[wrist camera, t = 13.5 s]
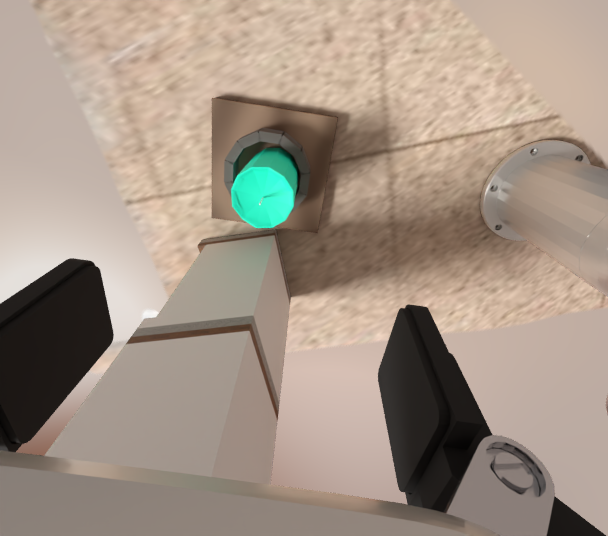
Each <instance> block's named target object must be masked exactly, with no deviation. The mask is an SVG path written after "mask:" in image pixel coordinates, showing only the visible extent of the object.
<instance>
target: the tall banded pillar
mask: <svg viewBox="0 0 608 536" xmlns="http://www.w3.org/2000/svg"><path fill="white" fill-rule="evenodd" d="M198 248H199V251H200V254H199V256H198V257H197V259H196V260H195V261H194V263H193V264H192V266H191V267H190V269H189V270H188V272H187V273H186V275H185V276H184V278H183V279H182V280H181V282H180V283H179V285H178V286H177V288H176V289H175V291H174V292H173V294H172V295H171V297H170V298H169V299H168V301H167V302H166V304H165V306H164V307H163V308H162V310H161V311H160V313H159V314H158V316H157V317H156V318H147V319H144V320H143V321H142V323H141V324H140V326H139V327H138V328H137V330H136V331H135V332H134V334H133V335H132V336H131V338H130V339H129V341H128V342H127V343H126V345H125V346H124V347H123V349H122V350H121V352H120V353H119V354H118V356H117V357H116V358H115V360H114V361H113V362H112V364H111V365H110V367H109V368H108V369H107V371H106V372H105V373H104V375H103V376H102V378H101V379H100V380H99V382H98V383H97V384H96V386H95V387H94V388H93V390H92V391H91V393H90V394H89V395H88V397H87V398H86V400H85V401H84V402H83V404H82V405H81V406H80V408H79V409H78V410H77V412H76V413H75V414H74V416H73V417H72V419H71V420H70V421H69V423H68V424H67V425H66V427H65V428H64V430H63V431H62V432H61V434H60V435H59V436H58V438H57V439H56V441H55V442H54V443H53V445H52V446H51V447H50V449H49V450H48V451H47V453H46V454H45V456H49V457H57V458H66V459H74V460H82V461H90V462H98V463H106V464H114V465H122V466H130V467H138V468H146V469H153V470H161V471H169V472H177V473H185V474H193V475H200V476H208V477H216V478H224V479H231V480H239V481H246V482H254V483H261V484H269V485H271V476H272V466H273V458H274V448H275V439H276V429H277V420H278V411H279V402H280V393H281V383H282V374H283V365H284V355H285V346H286V337H287V327H288V318H289V309H290V300H291V296H290V292H289V287H288V282H287V278H286V273H285V268H284V264H283V259H282V255H281V250H280V245H279V241H278V236H277V231H276V229H275V230H268V231H261V232H254V233H247V234H239V235H232V236H225V237H218V238H211V239H204V240H202V241H201V242H200V243H199V245H198Z"/></svg>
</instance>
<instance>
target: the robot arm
mask: <svg viewBox="0 0 608 536" xmlns="http://www.w3.org/2000/svg"><path fill="white" fill-rule="evenodd" d="M530 151H531V152H530ZM491 186H492V187H491ZM480 209H481V215H482V217H483V220H484V222H485V223H486V225H487V226H488V228H490V229H491V230H492V231H493V232H494V233H496V234H497V235H499V236H500V237H503V238H505V239H508V240H514V241H529V242H530V243H532V244H533V245H534V246H536V247H537V248H539V249H540V250H542V251H543V252H544V253H546V254H547V255H549V256H550V257H551V258H553V259H554V260H556V261H557V262H558V263H560V264H561V265H563V266H564V267H565V268H567V269H568V270H570V271H571V272H572V273H574V274H575V275H577V276H578V277H579V278H581V279H582V280H584V281H585V282H586V283H588V284H589V285H591V286H592V287H594V288H595V289H597V290H598V291H599V292H601V293H603V294H604V295H606V296H608V169H604V168H601V167H597V166H594V165H591V162H590V160H589V159H588V157H587V155H586V154H585V153H584V152H583V150H582V149H581V148H579V147H577V146H576V145H574V144H572V143H568V142H565V141H559V140H541V141H537V142H533V143H530V144H528V145H525V146H523V147H521V148H519V149H517V150H516V151H514V152H512V153H511V154H510V155H508V156H507V157H506V158H505V159H503V160H502V161H501V162H500V163H499V164H498V165H497V167H496V168H495V169H494V170H493V171H492V173H491V174H490V176H489V177H488V179H487V181H486V183H485V185H484V187H483V191H482V195H481V201H480ZM112 340H113V329H112V324H111V319H110V315H109V310H108V305H107V300H106V296H105V291H104V286H103V282H102V277H101V273H100V269H99V268H98V267H96V266H95V264H94V263H93V262H92V261H88V260H80V259H68V260H66V261H64V262H63V263H61V264H60V265H58V266H57V267H55V268H54V269H52V270H51V271H49V272H48V273H46V274H45V275H43V276H42V277H40V278H39V279H37V280H36V281H34V282H33V283H31V284H30V285H28V286H27V287H25V288H24V289H22V290H20V291H19V292H18V293H16V294H15V295H13V296H11V297H10V298H9V299H7V300H5V301H4V302H2V303H1V304H0V536H606V535H604V534H603V533H602V532H601V531H599V530H598V529H597V528H595V527H594V526H593V525H591V524H590V523H589V522H587V521H586V520H585V519H584V518H582V517H581V516H580V515H578V514H577V513H576V512H574V511H573V510H572V509H571V508H569V507H568V506H567V505H565V504H564V503H563V502H561V501H560V500H559V499H558V498H556V497H555V493H554V484H553V481H552V479H551V476H550V474H549V472H548V471H547V469H546V468H545V466H544V465H543V463H542V462H541V461H540V460H539V459H538V458H537V457H536V456H535V455H534V454H533V453H532V452H531V451H529V450H528V449H527V448H526V447H524V446H523V445H521V444H519V443H518V442H516V441H514V440H512V439H509V438H506V437H503V436H494V435H492V433H491V431H490V429H489V427H488V425H487V423H486V421H485V419H484V417H483V415H482V413H481V411H480V409H479V407H478V405H477V402H476V401H475V399H474V396H473V394H472V392H471V390H470V388H469V386H468V384H467V382H466V380H465V378H464V376H463V374H462V372H461V370H460V368H459V366H458V364H457V362H456V360H455V358H454V356H453V355H452V354H451V353H449V352H448V349H447V347H446V345H445V344H444V341H443V339H442V337H441V335H440V333H439V331H438V328H437V326H436V324H435V322H434V320H433V318H432V316H431V314H430V312H429V310H428V308H427V307H423V306H416V305H409V304H408V305H407V306H406V307H405V309H404V308H401V309H400V310H399V312H398V314H397V317H396V320H395V323H394V326H393V329H392V332H391V335H390V338H389V341H388V344H387V347H386V350H385V353H384V356H383V359H382V362H381V365H380V368H379V372H378V382H379V387H380V392H381V398H382V403H383V408H384V414H385V419H386V424H387V430H388V435H389V440H390V445H391V451H392V456H393V462H394V467H395V472H396V478H397V483H398V487H399V490H400V491H401V492H405V494H406V498H407V503H408V505H406V504H402V503H395V502H388V501H382V500H375V499H369V498H362V497H355V496H349V495H342V494H336V493H329V492H321V491H313V490H306V489H299V488H291V487H284V486H276V485H269V484H261V483H254V482H246V481H239V480H231V479H224V478H216V477H208V476H200V475H193V474H185V473H177V472H169V471H161V470H153V469H146V468H138V467H130V466H122V465H114V464H106V463H98V462H90V461H82V460H74V459H66V458H57V457H49V456H41V455H32V454H23V453H16V451H17V450H18V448H19V447H20V446H21V445H22V444H24V443H27V442H28V441H30V440H31V439H32V438H33V437H34V436H35V434H36V433H37V432H38V431H39V430H40V428H41V427H42V426H43V425H44V424H45V422H46V421H47V420H48V419H49V418H50V416H51V415H52V414H53V413H54V412H55V410H56V409H57V408H58V407H59V406H60V404H61V403H62V402H63V401H64V400H65V399H66V397H67V396H68V395H69V394H70V393H71V391H72V390H73V389H74V388H75V387H76V385H77V384H78V383H79V381H80V380H81V379H82V378H83V377H84V376H85V375H86V373H87V372H88V371H89V370H90V369H91V367H92V366H93V365H94V364H95V363H96V361H97V360H98V359H99V358H100V357H101V355H102V354H103V353H104V352H105V351H106V349H107V348H108V347H109V346H110V344H111V343H112ZM606 410H607V414H608V395H607V398H606Z"/></svg>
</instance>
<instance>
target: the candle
mask: <svg viewBox="0 0 608 536" xmlns="http://www.w3.org/2000/svg"><path fill="white" fill-rule="evenodd" d="M297 184H298V166H297V164H296V162H295V160H294V158H293V157H292V155H291V154H289V153H288V152H286V151H284V150H283V149H281V148H265V149H264V150H262V151H261V152H259V153H257V154H256V155H255V156H254V157H253V158H252V159H251V160H250V162H249V163H248V164H247V165H246V166H245V167H244V168H243V170H242V171H241V172H240V173H239V174H238V175H237V177H236V179H235V182H234V184H233V186H232V188H231V196H232V207H233V208H234V210H235V211H236V212H237V213H238V215H239V216H240V217H241V218H242V219H243V220H244V221H246V222H247V223H249V224H250V225H252V226H254V227H255V228H273V227H275V226H276V225H278V224H280V223H282V222H284V221H285V220H286V219H287V217H288V215H289V214H290V212H291V210H292V208H293V207H294V201H295V195H296V190H297Z"/></svg>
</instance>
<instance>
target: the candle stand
mask: <svg viewBox="0 0 608 536" xmlns="http://www.w3.org/2000/svg"><path fill="white" fill-rule="evenodd" d="M337 120H338V118H337V117H333V116H327V115H321V114H315V113H308V112H302V111H296V110H290V109H283V108H277V107H271V106H264V105H258V104H252V103H246V102H239V101H233V100H227V99H221V98H212V218H216V219H223V220H230V221H237V222H244V223H247V222H246V221H244V220H243V219H242V218H241V217H240V216H239V215H238V213H237V212H236V211H235V210H234V208H233V207H232V196H231V188H232V186H233V184H234V182H235V179H236V177H237V175H238V174H239V173H240V172H241V171H242V170H243V168H244V167H245V166H246V165H247V164H248V163H249V162H250V160H251V159H252V158H253V157H254V156H255V155H256V154H257V153H259V152H261V151H262V150H264V149H265V148H281V149H283V150H284V151H286V152H288V153H289V154H291V155H292V157H293V158H294V160H295V162H296V164H297V166H298V184H297V190H296V195H295V201H294V207H293V208H292V210H291V212H290V214H289V215H288V217H287V219H286V220H285V221H284V222H282V223H280V224H278V225H276V226H275V227H279V228H286V229H293V230H301V231H308V232H315V233H318V227H319V222H320V216H321V210H322V205H323V199H324V193H325V188H326V182H327V176H328V171H329V165H330V159H331V154H332V148H333V142H334V137H335V131H336V125H337Z"/></svg>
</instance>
